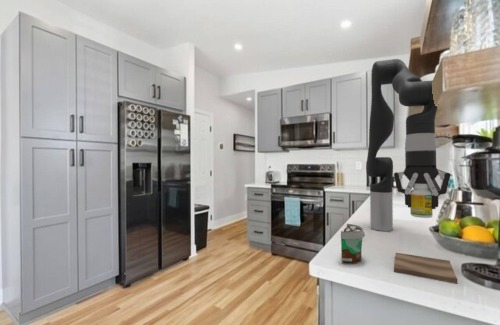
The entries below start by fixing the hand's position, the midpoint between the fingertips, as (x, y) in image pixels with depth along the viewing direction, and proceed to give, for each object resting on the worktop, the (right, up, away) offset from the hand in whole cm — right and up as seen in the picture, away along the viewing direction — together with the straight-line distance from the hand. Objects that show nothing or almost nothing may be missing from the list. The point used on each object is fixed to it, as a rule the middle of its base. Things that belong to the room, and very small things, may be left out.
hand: (421, 207), depth 74 cm
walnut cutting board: (0, -18, 0) cm, 18 cm away
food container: (-17, -18, +7) cm, 25 cm away
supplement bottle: (0, -3, 0) cm, 3 cm away
